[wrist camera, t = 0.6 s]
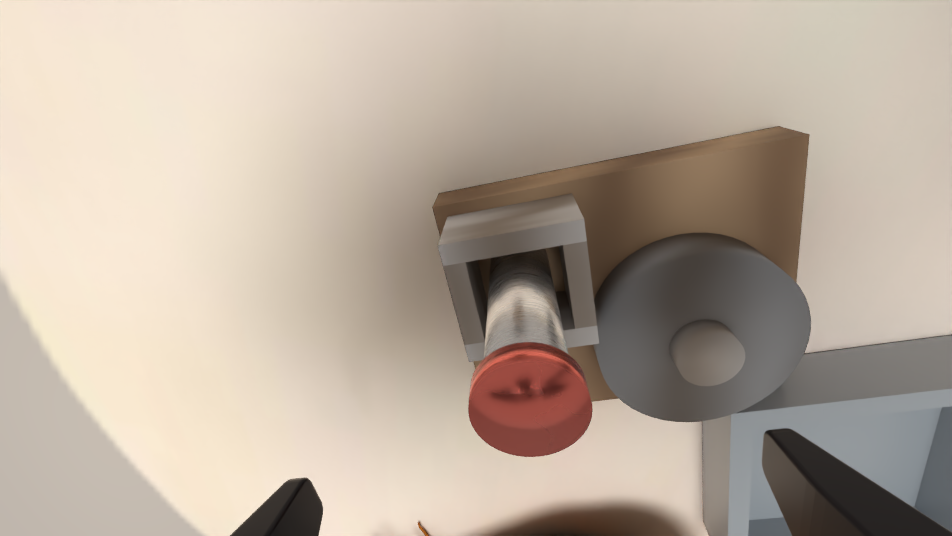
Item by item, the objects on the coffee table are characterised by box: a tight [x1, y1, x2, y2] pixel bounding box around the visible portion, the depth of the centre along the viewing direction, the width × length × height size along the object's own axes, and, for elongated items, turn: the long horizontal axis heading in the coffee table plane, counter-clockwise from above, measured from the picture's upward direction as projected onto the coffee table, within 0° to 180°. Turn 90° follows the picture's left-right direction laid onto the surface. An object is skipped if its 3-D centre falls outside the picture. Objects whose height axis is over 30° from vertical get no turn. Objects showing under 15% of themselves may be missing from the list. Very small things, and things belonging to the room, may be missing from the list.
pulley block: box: [432, 126, 811, 422], centre depth 19 cm, size 14×11×5 cm
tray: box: [702, 335, 952, 536], centre depth 23 cm, size 12×12×3 cm
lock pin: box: [468, 248, 592, 457], centre depth 15 cm, size 3×3×9 cm
